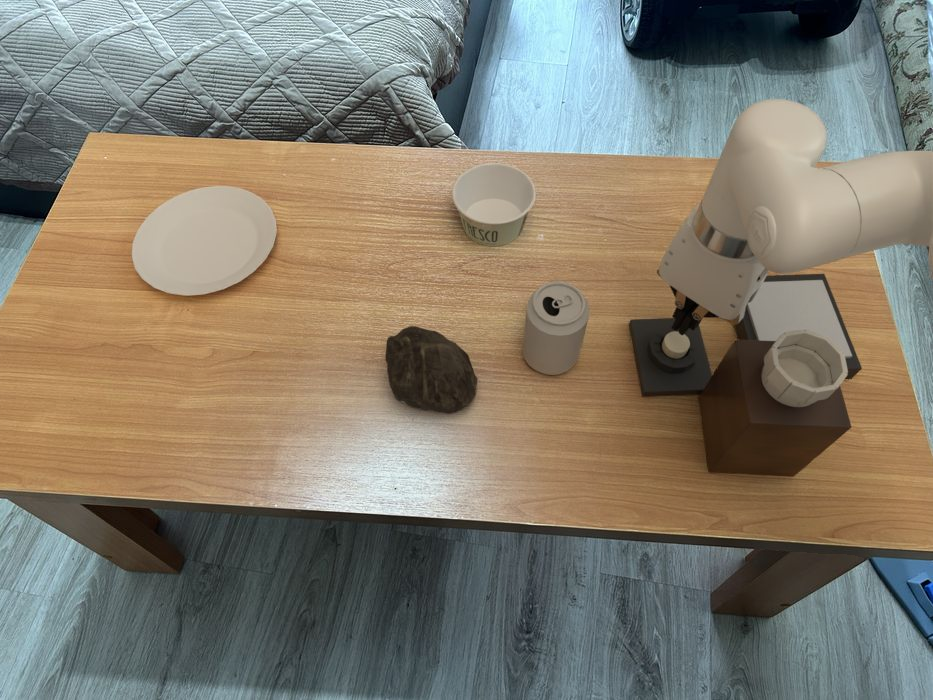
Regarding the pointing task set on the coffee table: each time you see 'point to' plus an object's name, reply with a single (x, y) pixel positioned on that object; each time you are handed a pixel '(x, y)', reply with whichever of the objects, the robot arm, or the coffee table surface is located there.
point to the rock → (429, 371)
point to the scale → (797, 313)
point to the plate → (204, 240)
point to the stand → (762, 419)
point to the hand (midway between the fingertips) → (683, 324)
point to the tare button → (675, 345)
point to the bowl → (803, 368)
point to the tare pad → (668, 360)
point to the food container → (493, 202)
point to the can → (554, 327)
